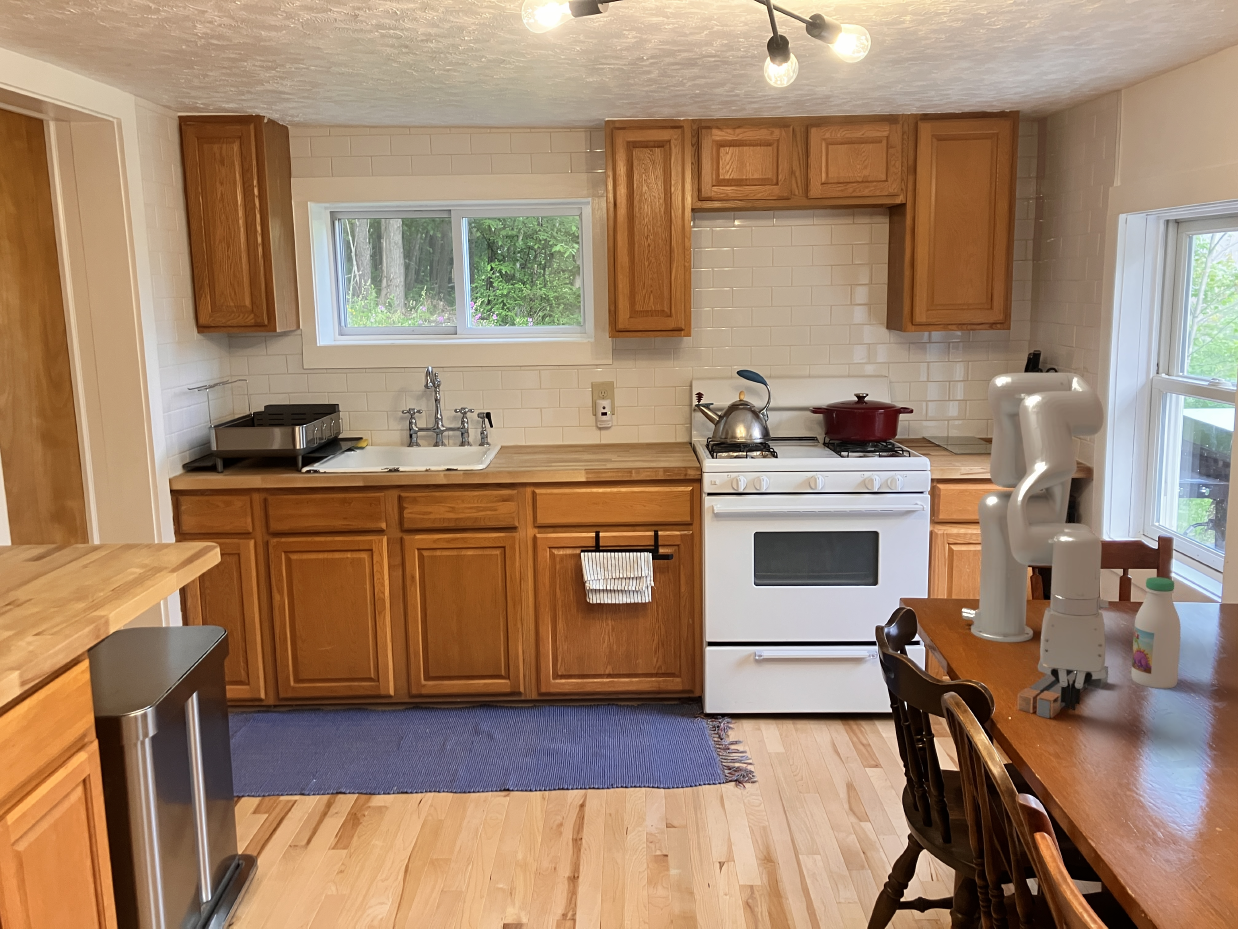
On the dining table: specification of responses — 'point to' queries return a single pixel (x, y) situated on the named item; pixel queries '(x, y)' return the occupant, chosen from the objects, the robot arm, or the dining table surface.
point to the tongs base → (1029, 695)
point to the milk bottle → (1156, 637)
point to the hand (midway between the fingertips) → (1069, 706)
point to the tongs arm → (1053, 699)
